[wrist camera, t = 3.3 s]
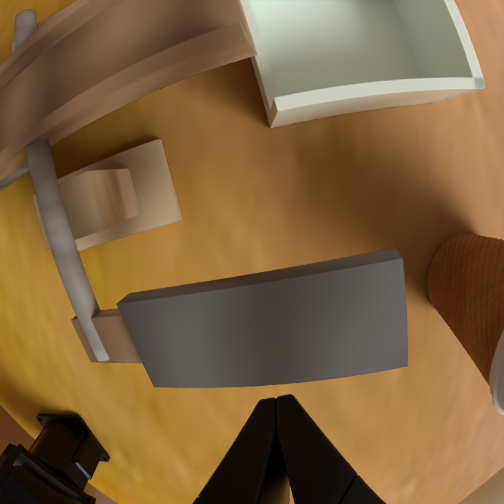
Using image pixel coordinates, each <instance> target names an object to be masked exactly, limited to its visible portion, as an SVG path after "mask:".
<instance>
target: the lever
mask: <svg viewBox="0 0 504 504" xmlns="http://www.w3.org/2000/svg"><path fill="white" fill-rule="evenodd" d="M256 55H257V52H256V48H255V45H254V42H253V39H252V35H251V32H250V29H249V26H248V23H247V20H246V17H245V14H244V10H243V7H242V4H241V1H240V0H76V1H74V2H73V3H72V4H70V5H69V6H67V7H66V8H65V9H63V10H62V11H61V12H59V13H58V14H57V15H55V16H54V17H53V18H52V19H50V20H49V21H48V22H47V23H45V24H44V25H43V26H42V27H41V28H39V29H38V30H37V29H36V11H35V10H31V9H29V10H24V11H22V12H20V13H19V14H18V15H17V16H16V17H15V51H14V52H13V53H12V54H11V55H10V56H9V57H8V58H7V59H6V60H5V61H4V62H3V63H2V64H1V65H0V190H2V189H3V188H5V187H6V186H8V185H9V184H11V183H12V182H13V181H15V180H16V179H18V178H19V177H21V176H22V175H24V174H25V173H27V172H28V171H30V174H31V179H32V183H33V188H34V192H35V196H36V200H37V203H38V207H39V211H40V215H41V218H42V222H43V225H44V228H45V232H46V235H47V238H48V241H49V244H50V247H51V250H52V253H53V256H54V259H55V262H56V265H57V268H58V271H59V273H60V276H61V279H62V281H63V284H64V287H65V289H66V292H67V294H68V297H69V299H70V302H71V304H72V306H73V309H74V311H75V313H76V316H75V317H74V318H73V319H71V321H72V323H73V325H74V328H75V330H76V332H77V334H78V336H79V338H80V340H81V343H82V345H83V347H84V349H85V351H86V353H87V355H88V357H89V359H90V361H91V362H104V363H143V365H144V367H145V369H146V371H147V373H148V375H149V378H150V380H151V382H152V383H153V385H154V387H166V388H220V387H247V386H264V385H278V384H290V383H300V382H310V381H319V380H327V379H335V378H342V377H349V376H356V375H362V374H368V373H374V372H380V371H385V370H391V369H396V368H401V367H406V366H408V336H407V308H406V291H405V278H404V267H403V258H402V256H401V255H400V254H399V252H398V251H397V249H396V248H393V249H388V250H383V251H378V252H372V253H367V254H362V255H356V256H351V257H345V258H340V259H334V260H329V261H323V262H318V263H312V264H306V265H301V266H295V267H289V268H283V269H278V270H272V271H266V272H260V273H254V274H248V275H242V276H236V277H230V278H224V279H218V280H212V281H206V282H199V283H193V284H187V285H180V286H174V287H167V288H161V289H154V290H148V291H141V292H134V293H129V294H128V295H127V296H126V297H124V298H123V299H122V300H121V301H119V302H118V303H117V306H118V308H117V309H108V310H100V308H99V306H98V303H97V301H96V298H95V296H94V293H93V291H92V288H91V286H90V283H89V280H88V278H87V275H86V272H85V269H84V267H83V264H82V261H81V258H80V255H79V252H78V249H77V246H76V243H75V240H74V237H73V234H72V231H71V227H70V224H69V221H68V217H67V214H66V210H65V207H64V203H63V199H62V196H61V192H60V188H59V184H58V180H57V176H56V171H55V167H54V163H53V158H52V153H51V148H50V146H52V145H53V144H55V143H57V142H58V141H60V140H62V139H63V138H65V137H67V136H68V135H70V134H72V133H73V132H75V131H77V130H79V129H80V128H82V127H84V126H86V125H88V124H89V123H91V122H93V121H95V120H97V119H99V118H101V117H102V116H104V115H106V114H108V113H110V112H112V111H114V110H116V109H118V108H120V107H122V106H124V105H126V104H128V103H131V102H133V101H135V100H137V99H139V98H141V97H144V96H146V95H148V94H150V93H153V92H155V91H157V90H159V89H162V88H164V87H167V86H169V85H172V84H174V83H176V82H179V81H182V80H184V79H187V78H189V77H192V76H195V75H197V74H200V73H203V72H206V71H208V70H211V69H214V68H217V67H220V66H223V65H226V64H229V63H233V62H236V61H239V60H242V59H246V58H249V57H252V56H256Z"/></svg>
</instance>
